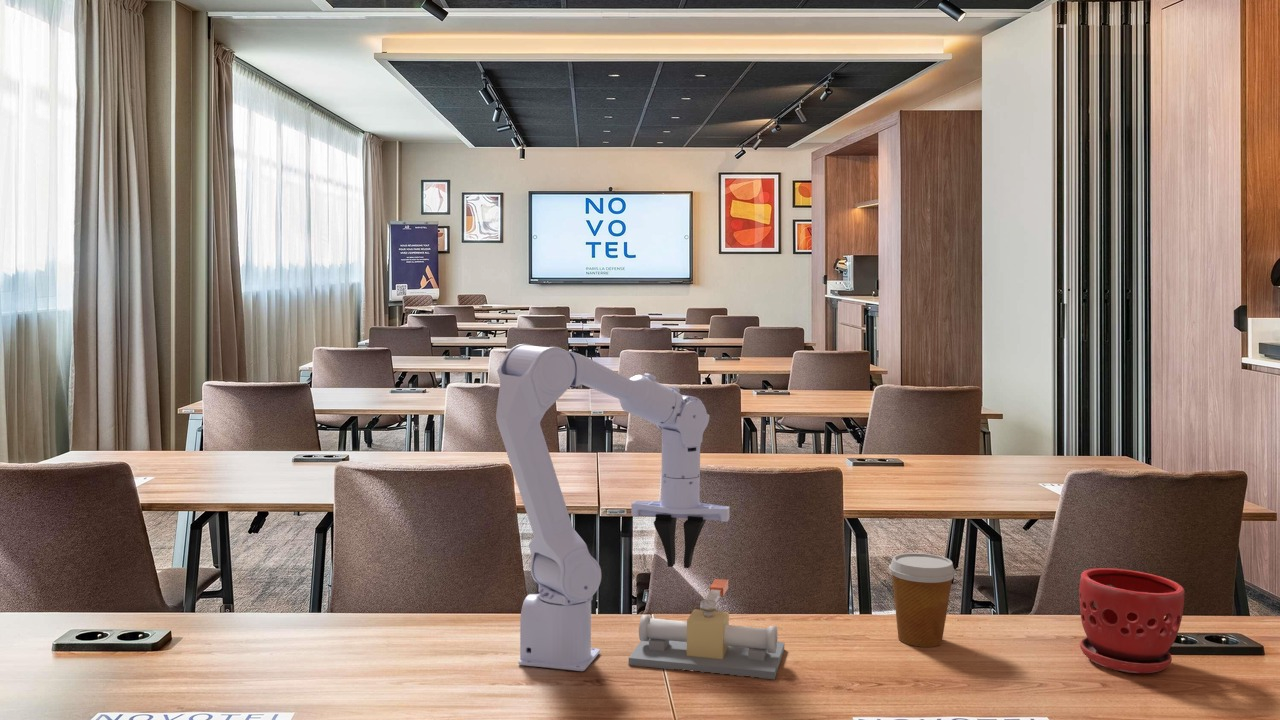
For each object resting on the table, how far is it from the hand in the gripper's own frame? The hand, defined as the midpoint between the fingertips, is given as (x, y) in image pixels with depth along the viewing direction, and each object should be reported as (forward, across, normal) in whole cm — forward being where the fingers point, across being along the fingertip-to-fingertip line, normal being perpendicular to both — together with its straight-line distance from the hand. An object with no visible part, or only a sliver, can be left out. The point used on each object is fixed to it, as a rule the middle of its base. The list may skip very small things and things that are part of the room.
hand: (679, 565), depth 153 cm
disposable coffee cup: (+11, -35, -7) cm, 37 cm away
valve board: (+10, -6, +9) cm, 15 cm away
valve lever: (+3, -6, +4) cm, 8 cm away
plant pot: (+11, -63, -5) cm, 64 cm away
